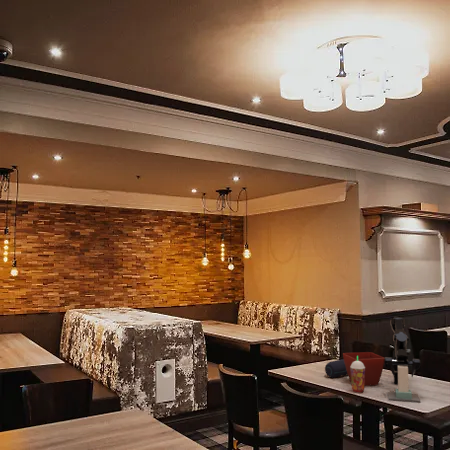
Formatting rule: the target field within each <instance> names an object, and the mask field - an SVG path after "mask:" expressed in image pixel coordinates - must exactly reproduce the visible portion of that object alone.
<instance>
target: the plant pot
mask: <svg viewBox="0 0 450 450" xmlns="http://www.w3.org/2000/svg"><path fill="white" fill-rule="evenodd" d="M342 356H343V358H342V359H344V362H345V366H346V370H347V373H348V375H347V376H348V378H349V381H350V382H351V369H350V366H351V364H352V363H353V362H354V361H357V356H358V361H361V362H362V363H363V364H364V367H365V382H364V387H367V386H378V385H379V383H380V380H381V378H382V374H383V369H384V366H385V365H384V359H385V357H383V356H381V355H379V354H376V353H374V352H369V351H365V352H343V353H342Z"/></svg>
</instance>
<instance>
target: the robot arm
mask: <svg viewBox="0 0 450 450" xmlns="http://www.w3.org/2000/svg"><path fill="white" fill-rule="evenodd" d="M390 327H391V330H392V331H393V333H394V334H393V335H392V339H393V342H394V351H395V356H394V358H393V357H387V356H385V357H384V365H383V366H384V367H385V368H387V369H389V370H390V372H391V374H392V376H393V384H394V385H398V365H399V366H407V367H408V366H411V378H414V377H413V376H414V375H415V372H416V371H418V370H420V369H421V364H422V363H421V360H420V358H412V361H410V360H409V356H411V354H412V353H411V352H412V351H411V349H410V348H407V343H408V342H409V341H410V338H409V336H408V335H407V332H406V331H405V330H404V328H405V327H406V321H405V318H403V317H401V316H400V317H399V316H397V317H396V316H395V317H393V318H391V319H390ZM408 368H409V367H408Z"/></svg>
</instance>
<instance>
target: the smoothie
mask: <svg viewBox="0 0 450 450" xmlns="http://www.w3.org/2000/svg"><path fill="white" fill-rule="evenodd" d="M350 369H351V381H350V382H351V389H352V391H353V392H354V393H359V394H361V393H363V392H364V391H365V386H364V382H365V367H364V364H363V363H362V362H361V361H358V356H357V361H354V362H353V363H352V364H351V366H350Z"/></svg>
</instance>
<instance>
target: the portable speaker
mask: <svg viewBox="0 0 450 450" xmlns="http://www.w3.org/2000/svg"><path fill="white" fill-rule="evenodd" d="M324 372H325V374H326V376H328V377H329V378H332V379H334V378H339V377H343V376H348V373H347V370H346V366H345V362H344V358H342V359H337V360H332V361H329V362H327V363H326V365H325V367H324Z"/></svg>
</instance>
